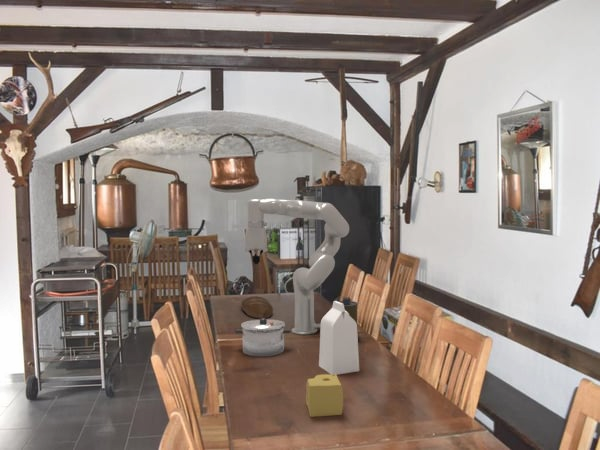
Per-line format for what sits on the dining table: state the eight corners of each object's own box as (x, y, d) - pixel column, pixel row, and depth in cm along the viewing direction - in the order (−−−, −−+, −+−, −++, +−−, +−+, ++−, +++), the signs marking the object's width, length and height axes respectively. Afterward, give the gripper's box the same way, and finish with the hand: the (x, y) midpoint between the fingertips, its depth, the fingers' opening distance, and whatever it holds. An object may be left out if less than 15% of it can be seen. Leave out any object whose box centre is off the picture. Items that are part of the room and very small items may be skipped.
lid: (286, 321, 245) (286, 314, 244) (283, 330, 225) (283, 323, 225) (244, 321, 245) (244, 314, 245) (238, 330, 226) (238, 323, 226)
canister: (356, 343, 244) (356, 300, 242) (333, 342, 246) (333, 299, 245) (358, 337, 254) (358, 295, 253) (337, 336, 256) (336, 294, 255)
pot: (292, 344, 244) (291, 322, 243) (289, 356, 226) (289, 333, 226) (239, 344, 245) (238, 322, 244) (233, 356, 227) (232, 333, 226)
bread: (262, 305, 330) (262, 291, 329) (278, 318, 295) (277, 303, 294) (237, 307, 325) (237, 293, 324) (249, 320, 290) (249, 305, 290)
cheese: (305, 404, 175) (305, 374, 175) (338, 403, 176) (338, 373, 176) (309, 418, 165) (308, 386, 164) (343, 416, 166) (343, 384, 165)
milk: (318, 365, 214) (318, 301, 212) (344, 362, 218) (344, 298, 217) (332, 375, 203) (332, 307, 201) (359, 371, 207) (359, 304, 206)
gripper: (272, 224, 257) (272, 262, 258) (241, 224, 257) (241, 263, 258) (270, 225, 249) (271, 265, 250) (238, 225, 250) (239, 265, 251)
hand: (256, 263), depth 254 cm, fingers closed
